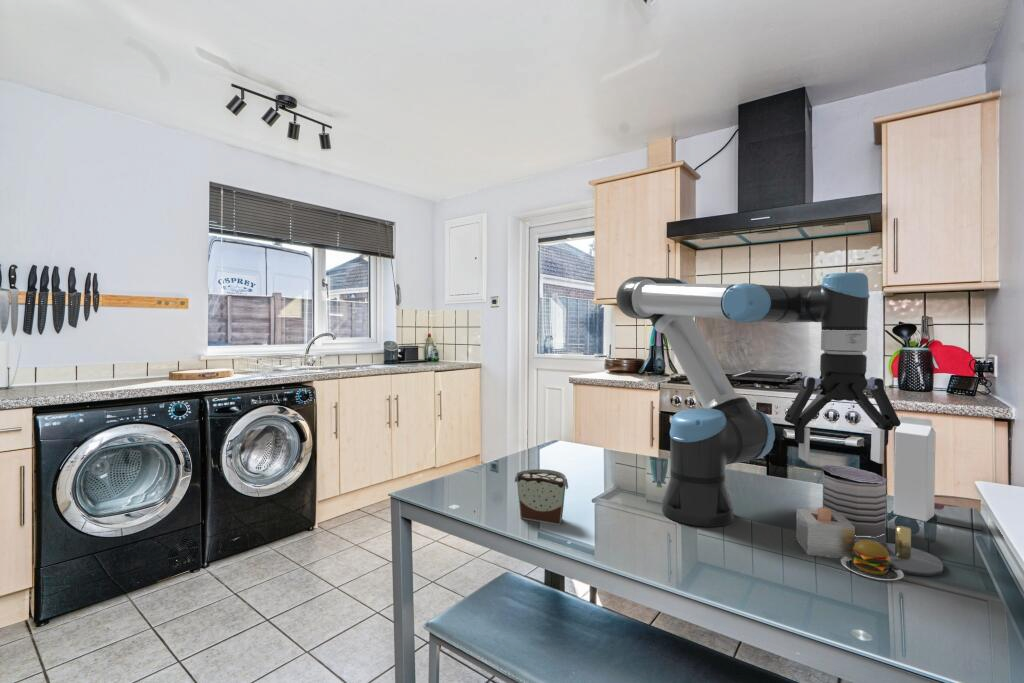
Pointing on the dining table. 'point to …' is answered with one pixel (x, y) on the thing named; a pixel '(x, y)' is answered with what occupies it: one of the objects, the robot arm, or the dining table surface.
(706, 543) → the dining table surface
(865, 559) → the hamburger
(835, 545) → the collar
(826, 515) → the sausage
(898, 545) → the hub
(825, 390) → the robot arm
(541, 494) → the food container
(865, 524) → the can
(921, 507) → the milk
